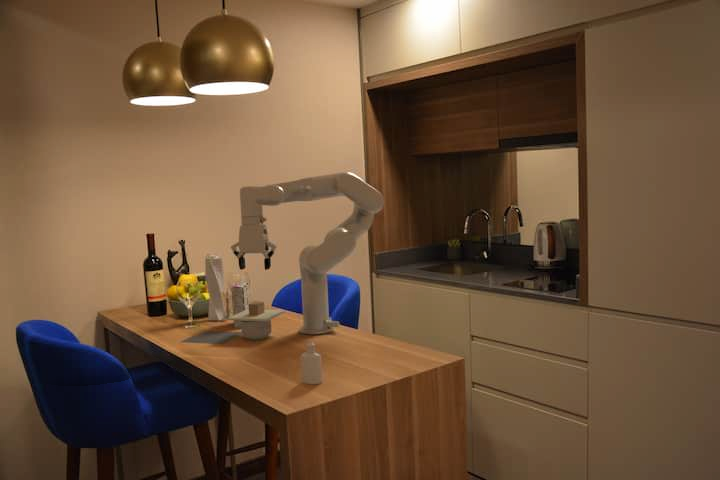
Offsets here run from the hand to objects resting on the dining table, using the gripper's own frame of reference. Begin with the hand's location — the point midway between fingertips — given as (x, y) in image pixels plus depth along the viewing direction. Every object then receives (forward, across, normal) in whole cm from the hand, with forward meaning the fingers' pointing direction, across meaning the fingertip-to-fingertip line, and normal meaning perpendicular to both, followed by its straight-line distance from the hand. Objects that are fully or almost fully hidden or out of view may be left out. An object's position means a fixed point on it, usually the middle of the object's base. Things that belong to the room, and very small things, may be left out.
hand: (254, 269), depth 226 cm
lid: (+17, 0, +1) cm, 17 cm away
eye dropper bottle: (+25, -37, +46) cm, 64 cm away
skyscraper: (+25, +30, -25) cm, 46 cm away
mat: (+25, +16, +4) cm, 29 cm away
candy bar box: (+25, +14, -16) cm, 33 cm away
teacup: (+25, 0, +1) cm, 25 cm away
